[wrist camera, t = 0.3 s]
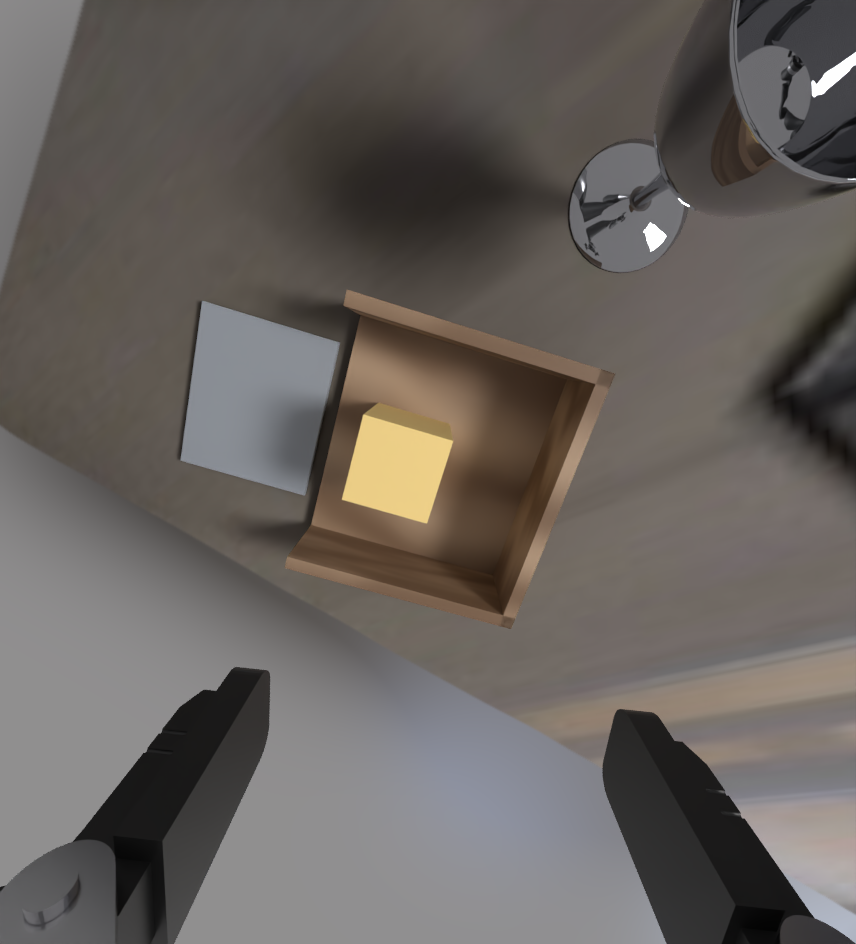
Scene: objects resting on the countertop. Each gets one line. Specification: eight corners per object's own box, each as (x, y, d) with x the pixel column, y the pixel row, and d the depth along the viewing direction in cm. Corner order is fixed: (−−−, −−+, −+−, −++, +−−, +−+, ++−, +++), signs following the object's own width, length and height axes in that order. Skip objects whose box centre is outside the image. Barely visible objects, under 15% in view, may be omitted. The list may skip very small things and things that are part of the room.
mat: (205, 301, 27) (202, 300, 26) (340, 342, 27) (338, 342, 27) (183, 459, 29) (180, 460, 29) (306, 493, 30) (304, 495, 30)
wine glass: (703, 256, 25) (1057, 121, 11) (576, 296, 26) (750, 220, 12) (686, 109, 23) (1091, -294, 9) (549, 157, 24) (718, -141, 10)
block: (378, 402, 28) (363, 414, 22) (449, 423, 28) (453, 440, 22) (360, 471, 29) (341, 499, 23) (428, 490, 29) (426, 523, 23)
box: (365, 303, 26) (347, 289, 21) (579, 370, 27) (615, 373, 22) (311, 531, 31) (284, 567, 25) (498, 582, 32) (510, 629, 26)
